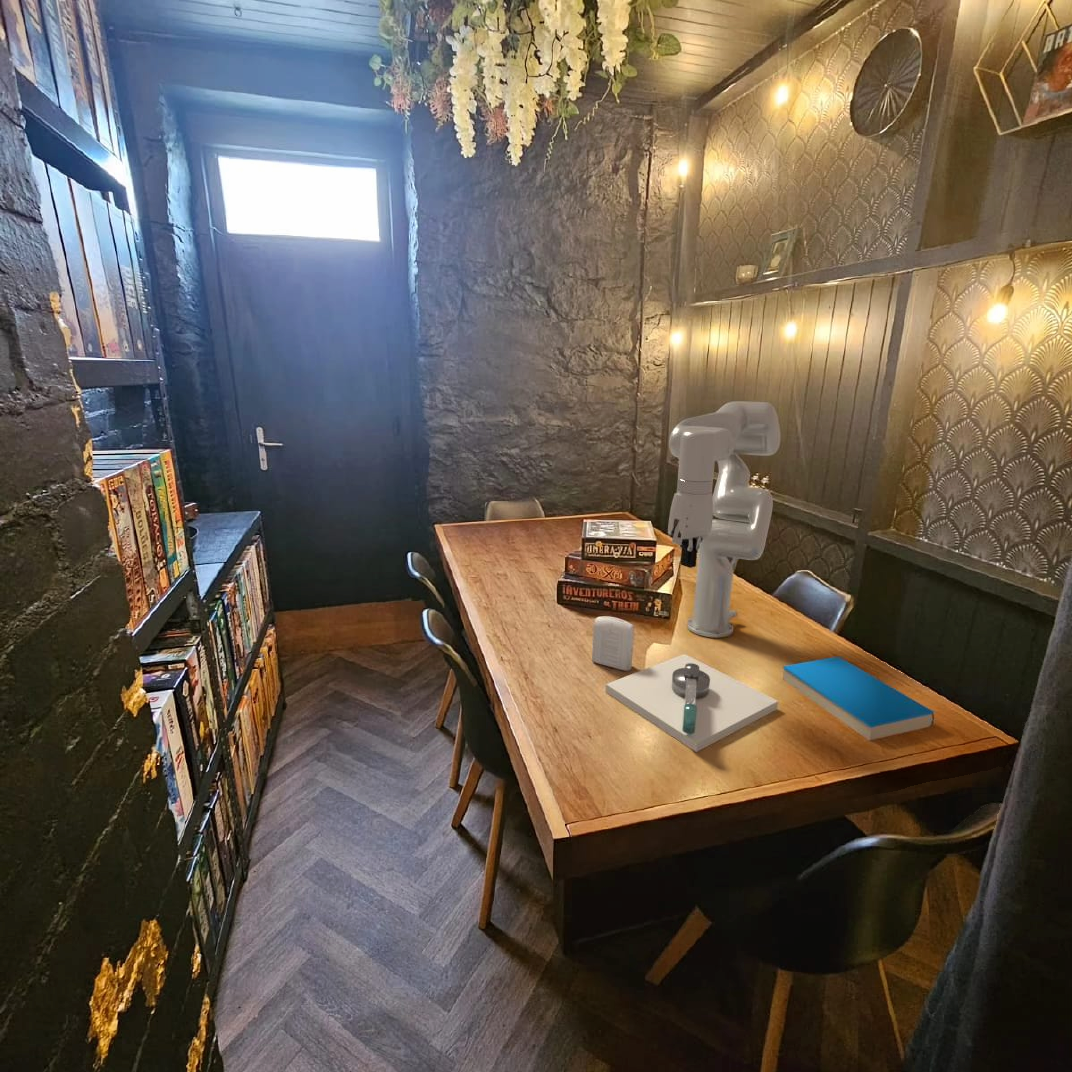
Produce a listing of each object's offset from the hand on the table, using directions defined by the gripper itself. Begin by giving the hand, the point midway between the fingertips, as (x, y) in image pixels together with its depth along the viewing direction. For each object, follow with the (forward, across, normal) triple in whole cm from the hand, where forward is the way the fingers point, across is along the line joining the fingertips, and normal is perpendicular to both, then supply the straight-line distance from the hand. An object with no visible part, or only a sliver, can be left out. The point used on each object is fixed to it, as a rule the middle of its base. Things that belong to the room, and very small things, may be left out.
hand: (688, 565), depth 132 cm
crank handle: (+25, +13, +14) cm, 31 cm away
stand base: (+27, +8, +10) cm, 30 cm away
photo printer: (+27, +11, -12) cm, 32 cm away
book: (+28, -22, +30) cm, 47 cm away
